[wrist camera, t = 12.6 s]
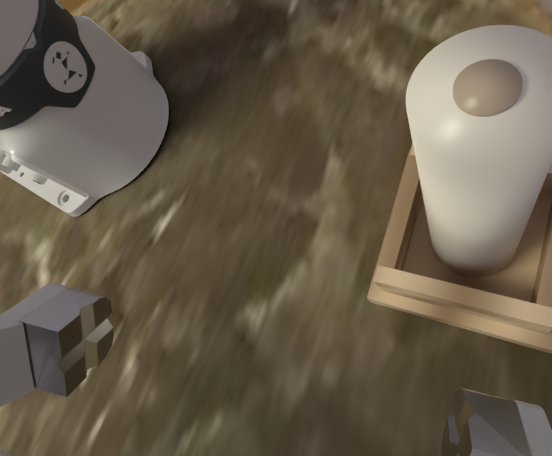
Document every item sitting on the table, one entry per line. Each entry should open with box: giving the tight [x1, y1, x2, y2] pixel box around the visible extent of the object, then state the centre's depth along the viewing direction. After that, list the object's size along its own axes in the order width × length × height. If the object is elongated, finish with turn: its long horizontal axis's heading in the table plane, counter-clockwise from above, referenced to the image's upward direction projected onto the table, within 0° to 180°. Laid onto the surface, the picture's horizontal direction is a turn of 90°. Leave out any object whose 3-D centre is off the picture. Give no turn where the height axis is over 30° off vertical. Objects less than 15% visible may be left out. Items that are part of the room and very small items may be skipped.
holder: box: [367, 144, 552, 354], centre depth 28 cm, size 11×11×4 cm
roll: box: [406, 25, 552, 278], centre depth 21 cm, size 5×5×16 cm
